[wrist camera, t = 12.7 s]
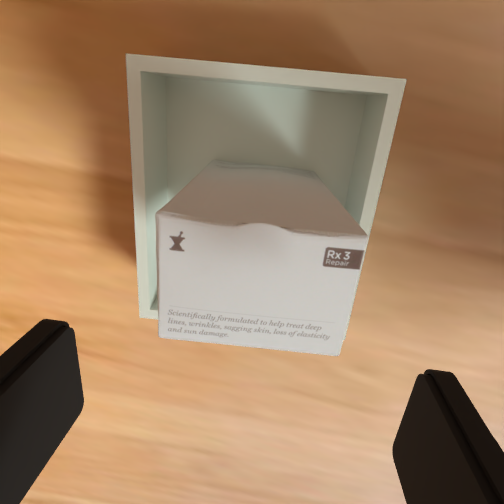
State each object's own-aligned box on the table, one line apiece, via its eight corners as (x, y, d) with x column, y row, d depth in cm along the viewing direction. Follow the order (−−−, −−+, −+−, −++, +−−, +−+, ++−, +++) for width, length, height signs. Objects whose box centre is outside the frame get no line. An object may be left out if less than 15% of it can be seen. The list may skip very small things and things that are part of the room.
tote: (377, 84, 24) (406, 79, 19) (332, 298, 31) (344, 340, 26) (158, 64, 25) (125, 53, 19) (163, 280, 32) (139, 317, 26)
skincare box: (207, 228, 28) (145, 344, 15) (212, 153, 26) (141, 209, 12) (309, 241, 28) (339, 369, 15) (323, 166, 26) (374, 238, 12)
